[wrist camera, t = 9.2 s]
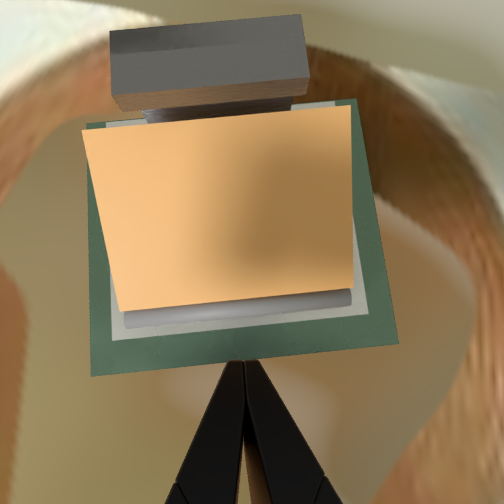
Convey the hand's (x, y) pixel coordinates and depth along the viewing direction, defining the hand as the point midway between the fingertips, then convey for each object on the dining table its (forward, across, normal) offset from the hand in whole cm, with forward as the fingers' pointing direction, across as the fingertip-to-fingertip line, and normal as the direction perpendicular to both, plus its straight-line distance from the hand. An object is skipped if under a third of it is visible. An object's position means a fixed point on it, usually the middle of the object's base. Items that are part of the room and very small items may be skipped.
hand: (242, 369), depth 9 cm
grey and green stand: (+13, 0, +3) cm, 14 cm away
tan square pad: (+6, 0, +3) cm, 7 cm away
